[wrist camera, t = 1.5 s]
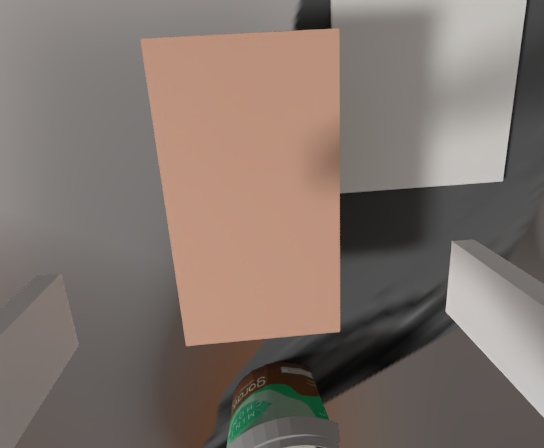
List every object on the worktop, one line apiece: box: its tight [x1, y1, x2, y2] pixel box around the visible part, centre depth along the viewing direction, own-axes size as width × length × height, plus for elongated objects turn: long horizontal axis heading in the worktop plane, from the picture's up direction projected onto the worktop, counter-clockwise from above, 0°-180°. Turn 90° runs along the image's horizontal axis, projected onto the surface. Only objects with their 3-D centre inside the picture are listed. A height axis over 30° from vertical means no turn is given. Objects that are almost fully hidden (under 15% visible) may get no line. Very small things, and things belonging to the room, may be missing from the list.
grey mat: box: [331, 0, 527, 193], centre depth 29 cm, size 22×14×1 cm, turn 3°
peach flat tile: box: [140, 28, 340, 346], centre depth 25 cm, size 18×10×3 cm, turn 3°
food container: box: [227, 362, 340, 448], centre depth 34 cm, size 12×6×10 cm, turn 148°
